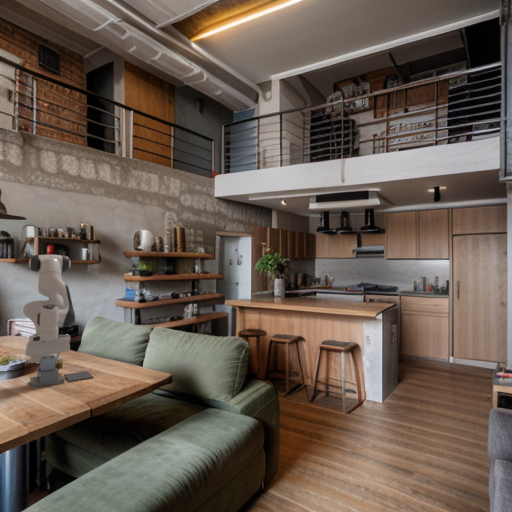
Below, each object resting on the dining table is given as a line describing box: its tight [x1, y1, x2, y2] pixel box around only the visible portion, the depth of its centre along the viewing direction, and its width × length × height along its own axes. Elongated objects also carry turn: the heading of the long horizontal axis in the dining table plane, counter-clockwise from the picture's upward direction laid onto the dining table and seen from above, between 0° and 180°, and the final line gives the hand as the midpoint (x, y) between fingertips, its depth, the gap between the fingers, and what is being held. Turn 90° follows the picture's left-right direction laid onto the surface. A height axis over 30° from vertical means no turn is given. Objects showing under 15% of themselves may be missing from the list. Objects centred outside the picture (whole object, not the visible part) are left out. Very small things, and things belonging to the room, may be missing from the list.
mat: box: [63, 370, 94, 383], centre depth 194 cm, size 14×12×1 cm
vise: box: [29, 356, 66, 389], centre depth 185 cm, size 13×14×14 cm
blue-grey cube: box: [39, 355, 56, 371], centre depth 185 cm, size 6×6×6 cm
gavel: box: [55, 360, 64, 369], centre depth 202 cm, size 21×5×10 cm
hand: (47, 362), depth 185 cm, fingers closed on blue-grey cube, 6 cm apart
